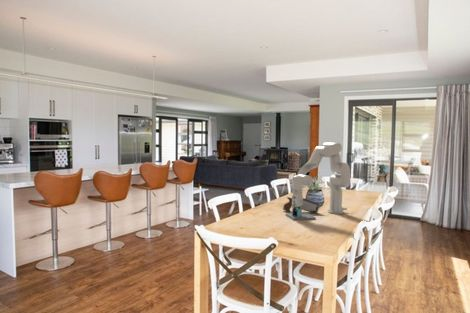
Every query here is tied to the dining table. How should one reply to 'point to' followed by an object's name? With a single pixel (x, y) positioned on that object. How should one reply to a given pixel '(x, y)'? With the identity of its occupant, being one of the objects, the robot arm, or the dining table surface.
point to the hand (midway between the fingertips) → (296, 214)
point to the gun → (303, 206)
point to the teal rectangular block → (298, 212)
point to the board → (303, 217)
